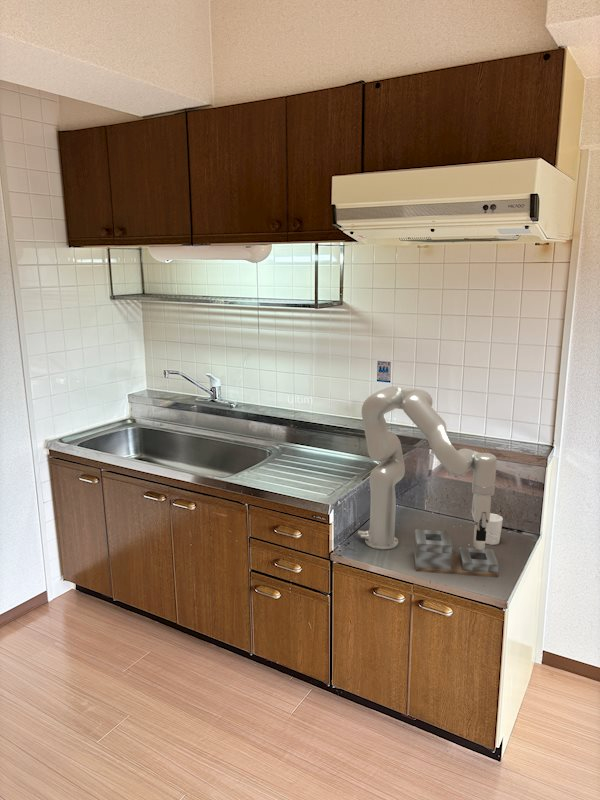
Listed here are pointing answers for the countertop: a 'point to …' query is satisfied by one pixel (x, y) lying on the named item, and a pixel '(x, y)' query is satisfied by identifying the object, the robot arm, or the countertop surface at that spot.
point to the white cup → (493, 529)
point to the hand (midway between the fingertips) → (479, 537)
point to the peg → (478, 544)
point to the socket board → (451, 556)
